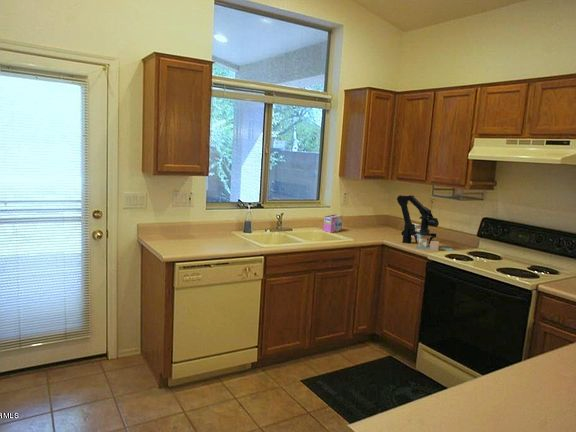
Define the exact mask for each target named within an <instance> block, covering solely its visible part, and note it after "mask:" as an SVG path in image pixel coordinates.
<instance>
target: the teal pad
mask: <svg viewBox="0 0 576 432" xmlns="http://www.w3.org/2000/svg"><path fill="white" fill-rule="evenodd" d="M440 250H445V251H454V248H451V247H450V248H449V247H443V246H441V247H440Z"/></svg>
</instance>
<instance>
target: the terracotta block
mask: <svg viewBox="0 0 576 432" xmlns="http://www.w3.org/2000/svg"><path fill="white" fill-rule="evenodd" d="M429 246H430V250H429V251H433V250H436V251H435V252H439V248H440V247H439V246H440V241H436V240H431V242H430V244H429ZM438 247H439V248H438Z"/></svg>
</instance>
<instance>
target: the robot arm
mask: <svg viewBox="0 0 576 432" xmlns="http://www.w3.org/2000/svg"><path fill="white" fill-rule="evenodd" d="M396 200H397V203H398V205H399V206H400V209H401V213H402V216H403V220H404V229H403V230H402V231H401V232H400V233H401V235H402V242H401V243H403V244H411V243H412V240H413V238H412V237H411V235H413V236H414V237H415V239H414V240H415V243H416V245H418V240H417V234H419V235H424V236H426V235H427V237H429V240H428V244H427V245H428V246H430V242H431V241H433V239H435V238H437V232H431V233H430V230H431V229H429V227H433V228H438V226H439V223H440V222H439V220H438V217H434V215H433V213H432V210H431V209H430V208H429V207H427V206H424V205H423V204H422V203H421V202H420V201H419V200H418V199H417V198H416V197H415V196H414V195H411V194H410V195H398V196H397V197H396ZM409 202H411V204H412V205H413V206H414V207H415V208H416V209H417V210H418V212H419V214H420V215H421V216H420V217H419V219H421V222H420V225H421V229H420V232H417V231H415V229H416V228H415V225H414V224H415V223H414V224H412V223H413V222H412V220H411V216H410V212H409V207H408V203H409Z"/></svg>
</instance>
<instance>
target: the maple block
mask: <svg viewBox="0 0 576 432" xmlns="http://www.w3.org/2000/svg"><path fill="white" fill-rule="evenodd" d="M417 245H418V246H420V247H426V246H427V245H428V238H427V239H426V238H419V240H418V242H417Z"/></svg>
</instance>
